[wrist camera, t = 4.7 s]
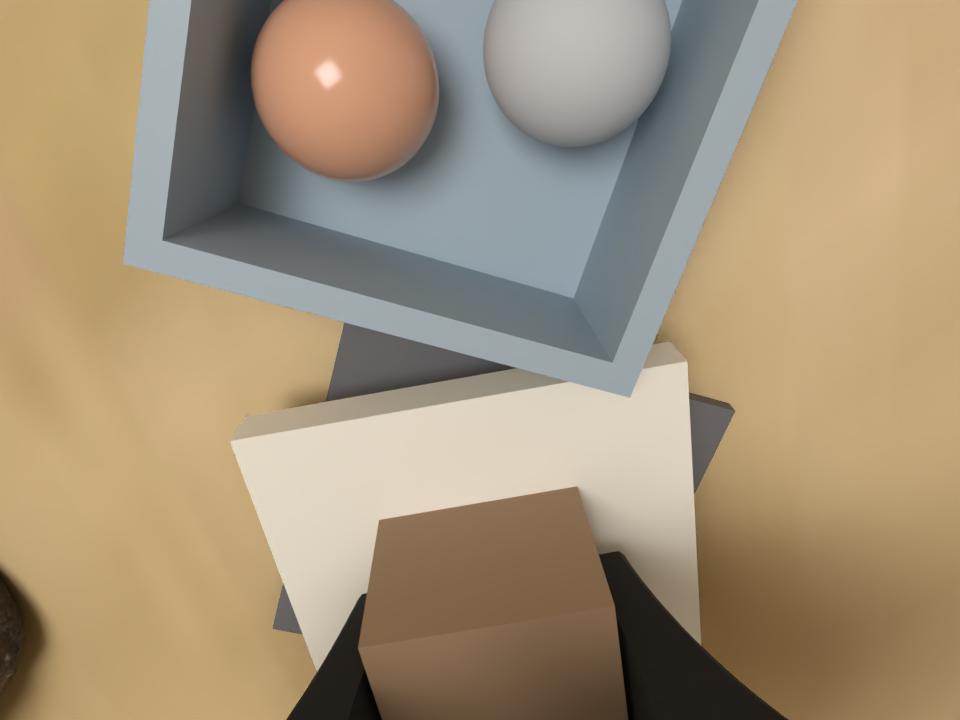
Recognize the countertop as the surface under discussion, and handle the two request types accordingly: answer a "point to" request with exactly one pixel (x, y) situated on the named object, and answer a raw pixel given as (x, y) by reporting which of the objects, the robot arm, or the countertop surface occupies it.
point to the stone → (9, 636)
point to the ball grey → (575, 65)
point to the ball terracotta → (345, 86)
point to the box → (447, 193)
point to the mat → (406, 363)
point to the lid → (481, 533)
